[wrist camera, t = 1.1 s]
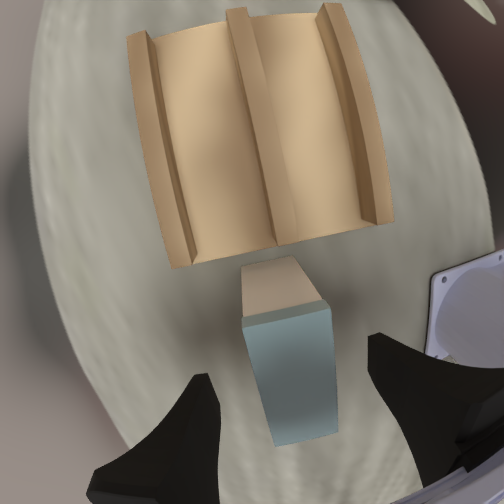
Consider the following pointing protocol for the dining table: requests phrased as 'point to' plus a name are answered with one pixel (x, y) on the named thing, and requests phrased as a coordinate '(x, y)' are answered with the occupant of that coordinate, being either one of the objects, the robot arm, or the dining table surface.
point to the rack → (258, 133)
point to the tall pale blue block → (290, 350)
